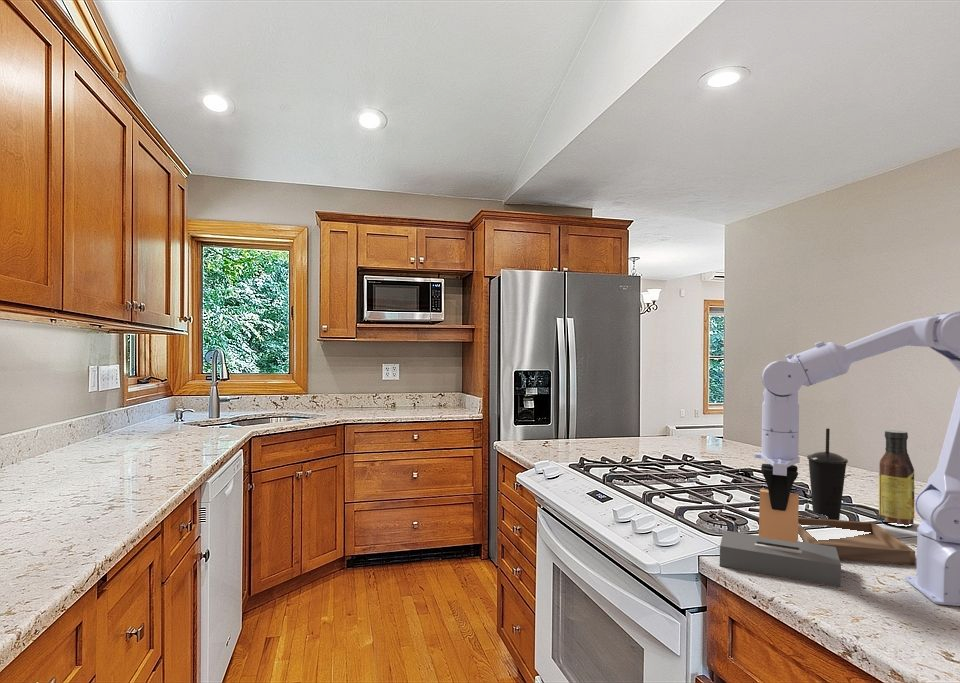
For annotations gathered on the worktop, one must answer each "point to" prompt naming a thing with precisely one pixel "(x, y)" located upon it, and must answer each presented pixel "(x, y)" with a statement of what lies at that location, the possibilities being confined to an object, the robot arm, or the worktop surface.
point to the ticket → (778, 519)
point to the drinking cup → (827, 481)
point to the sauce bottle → (896, 480)
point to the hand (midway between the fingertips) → (778, 508)
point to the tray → (861, 542)
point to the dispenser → (781, 558)
